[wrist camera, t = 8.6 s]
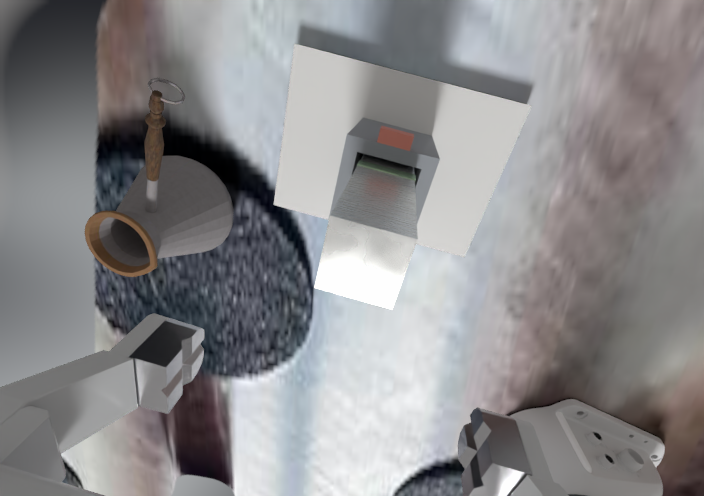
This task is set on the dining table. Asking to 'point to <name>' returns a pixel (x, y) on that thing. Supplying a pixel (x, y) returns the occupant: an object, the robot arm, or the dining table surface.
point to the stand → (394, 141)
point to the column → (371, 233)
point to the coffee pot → (161, 207)
